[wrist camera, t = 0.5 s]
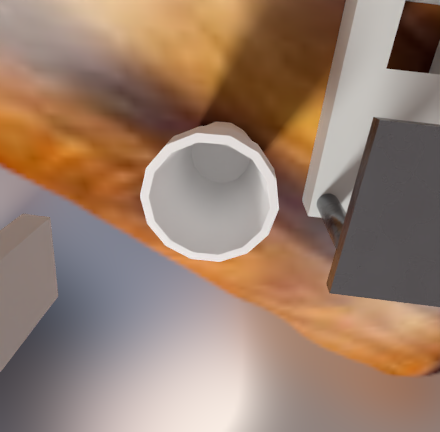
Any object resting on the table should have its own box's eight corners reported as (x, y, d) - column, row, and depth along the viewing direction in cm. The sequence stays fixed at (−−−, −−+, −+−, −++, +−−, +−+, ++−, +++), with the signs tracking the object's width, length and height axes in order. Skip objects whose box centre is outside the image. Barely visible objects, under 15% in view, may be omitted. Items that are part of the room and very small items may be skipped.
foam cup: (274, 109, 34) (289, 140, 22) (262, 199, 37) (270, 266, 26) (175, 101, 34) (138, 127, 22) (174, 191, 38) (141, 254, 26)
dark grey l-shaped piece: (329, 94, 29) (379, 120, 18) (489, 113, 29) (637, 149, 18) (302, 215, 34) (329, 293, 23) (439, 231, 33) (533, 318, 22)
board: (372, -122, 26) (392, -150, 22) (535, -105, 26) (582, -131, 22) (302, 200, 37) (308, 216, 34) (415, 213, 37) (434, 231, 33)
